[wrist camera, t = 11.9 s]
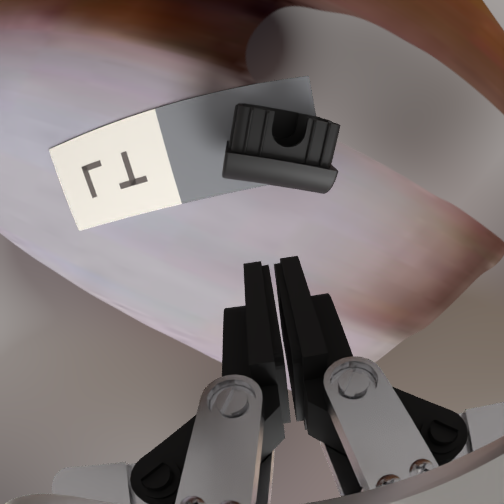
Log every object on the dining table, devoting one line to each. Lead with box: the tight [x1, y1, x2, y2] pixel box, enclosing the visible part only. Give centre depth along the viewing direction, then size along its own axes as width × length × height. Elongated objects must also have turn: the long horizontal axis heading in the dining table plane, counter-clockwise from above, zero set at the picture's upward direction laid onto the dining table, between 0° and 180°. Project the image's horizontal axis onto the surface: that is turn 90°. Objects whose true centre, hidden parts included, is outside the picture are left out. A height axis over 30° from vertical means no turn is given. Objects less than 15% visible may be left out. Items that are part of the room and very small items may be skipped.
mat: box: [155, 76, 316, 204], centre depth 32 cm, size 11×16×1 cm
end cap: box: [222, 103, 340, 194], centre depth 29 cm, size 10×7×7 cm
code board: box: [49, 109, 182, 231], centre depth 32 cm, size 11×14×1 cm
